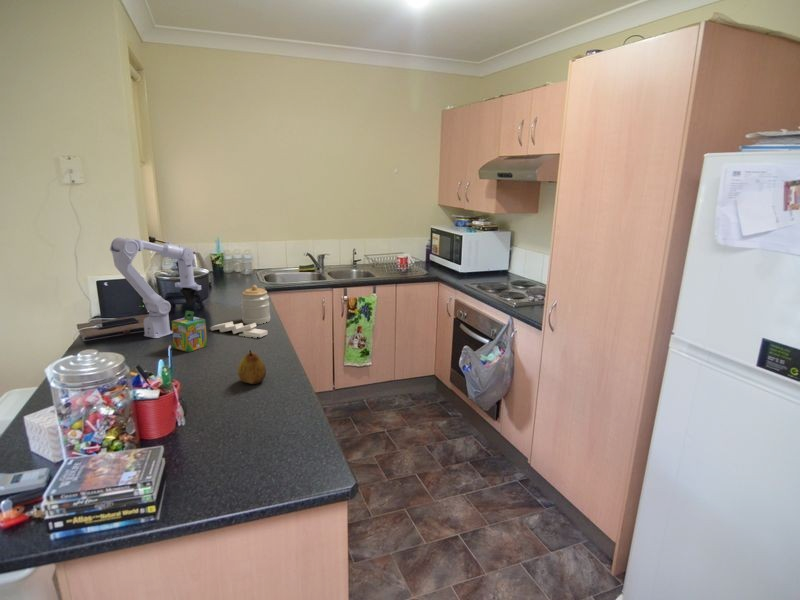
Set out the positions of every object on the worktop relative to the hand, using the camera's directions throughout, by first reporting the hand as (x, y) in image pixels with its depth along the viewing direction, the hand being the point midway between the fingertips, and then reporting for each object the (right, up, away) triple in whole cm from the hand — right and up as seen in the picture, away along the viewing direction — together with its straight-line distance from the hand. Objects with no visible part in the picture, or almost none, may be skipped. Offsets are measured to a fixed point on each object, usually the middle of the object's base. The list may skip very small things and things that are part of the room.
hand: (190, 304), depth 211 cm
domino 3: (+23, -12, -7) cm, 27 cm away
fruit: (+46, -26, -56) cm, 77 cm away
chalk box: (+12, -17, -25) cm, 33 cm away
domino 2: (+17, -11, -4) cm, 21 cm away
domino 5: (+29, -12, -8) cm, 32 cm away
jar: (+27, -9, +11) cm, 30 cm away
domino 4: (+26, -13, -8) cm, 31 cm away
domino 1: (+12, -11, -2) cm, 16 cm away
